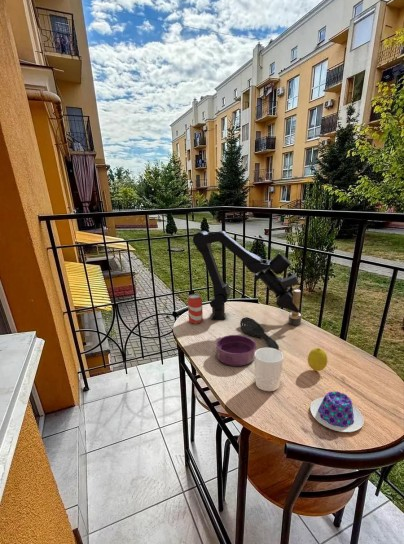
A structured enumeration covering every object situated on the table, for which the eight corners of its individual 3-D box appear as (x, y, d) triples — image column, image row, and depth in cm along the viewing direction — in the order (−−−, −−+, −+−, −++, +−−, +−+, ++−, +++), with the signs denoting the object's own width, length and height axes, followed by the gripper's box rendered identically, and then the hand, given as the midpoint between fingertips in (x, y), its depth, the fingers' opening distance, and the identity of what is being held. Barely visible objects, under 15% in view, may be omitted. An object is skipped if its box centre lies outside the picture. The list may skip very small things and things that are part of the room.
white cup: (276, 396, 77) (278, 365, 73) (249, 387, 81) (250, 357, 77) (284, 381, 83) (287, 351, 79) (259, 373, 87) (260, 345, 83)
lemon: (316, 378, 83) (319, 354, 81) (302, 369, 88) (305, 346, 85) (329, 372, 86) (333, 349, 83) (315, 364, 90) (318, 342, 88)
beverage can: (195, 325, 121) (193, 299, 116) (186, 321, 125) (184, 296, 121) (205, 321, 124) (204, 296, 120) (196, 317, 129) (195, 292, 125)
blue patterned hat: (300, 403, 74) (302, 387, 72) (340, 395, 76) (343, 379, 74) (329, 439, 63) (332, 421, 61) (375, 428, 65) (379, 410, 63)
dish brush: (287, 320, 122) (289, 288, 117) (298, 320, 122) (301, 288, 116) (289, 325, 117) (292, 292, 112) (301, 325, 117) (305, 292, 112)
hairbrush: (267, 347, 96) (236, 316, 118) (266, 356, 97) (236, 324, 119) (288, 342, 98) (253, 313, 120) (287, 351, 100) (253, 321, 121)
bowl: (217, 346, 103) (216, 334, 101) (253, 347, 102) (253, 334, 100) (216, 367, 91) (215, 353, 89) (257, 367, 90) (257, 354, 88)
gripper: (287, 274, 104) (316, 303, 105) (287, 263, 121) (312, 288, 121) (264, 293, 109) (292, 321, 110) (268, 279, 125) (292, 304, 126)
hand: (298, 307), depth 117 cm, fingers open, 9 cm apart
